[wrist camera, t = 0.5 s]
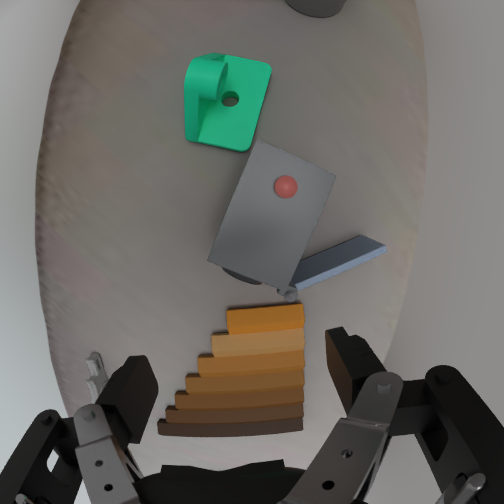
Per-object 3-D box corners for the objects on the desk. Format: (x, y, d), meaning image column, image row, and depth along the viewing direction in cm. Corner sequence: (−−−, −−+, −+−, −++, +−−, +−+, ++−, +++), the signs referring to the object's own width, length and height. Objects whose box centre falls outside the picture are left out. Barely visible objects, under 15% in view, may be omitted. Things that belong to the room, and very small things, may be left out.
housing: (253, 153, 34) (257, 138, 24) (324, 184, 35) (355, 183, 25) (213, 250, 37) (201, 275, 26) (282, 278, 38) (296, 311, 27)
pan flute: (164, 427, 44) (300, 422, 44) (160, 440, 41) (303, 435, 41) (127, 309, 39) (299, 298, 39) (118, 319, 35) (304, 307, 36)
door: (361, 233, 36) (385, 243, 29) (364, 244, 36) (388, 256, 30) (274, 269, 37) (281, 287, 30) (279, 280, 37) (286, 300, 30)
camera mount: (248, 155, 34) (249, 141, 24) (189, 142, 34) (169, 125, 24) (271, 72, 32) (280, 35, 22) (215, 60, 31) (206, 22, 21)
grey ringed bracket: (92, 350, 40) (76, 369, 34) (100, 351, 40) (85, 370, 34) (111, 404, 42) (100, 424, 37) (119, 405, 42) (109, 426, 37)
